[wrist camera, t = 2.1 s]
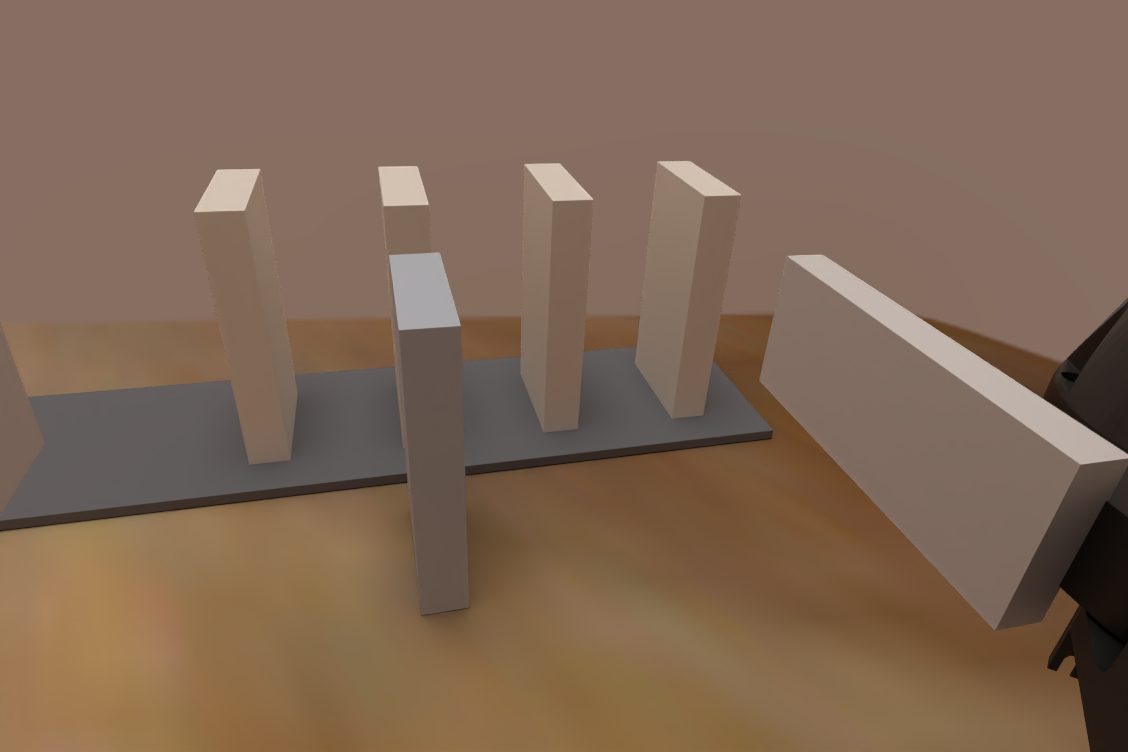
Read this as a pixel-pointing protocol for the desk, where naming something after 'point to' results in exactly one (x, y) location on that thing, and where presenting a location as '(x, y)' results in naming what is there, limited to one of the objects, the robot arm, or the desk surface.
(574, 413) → the domino
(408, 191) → the domino
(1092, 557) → the robot arm
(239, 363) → the domino
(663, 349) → the domino
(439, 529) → the slate domino
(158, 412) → the runway mat
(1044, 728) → the desk surface
